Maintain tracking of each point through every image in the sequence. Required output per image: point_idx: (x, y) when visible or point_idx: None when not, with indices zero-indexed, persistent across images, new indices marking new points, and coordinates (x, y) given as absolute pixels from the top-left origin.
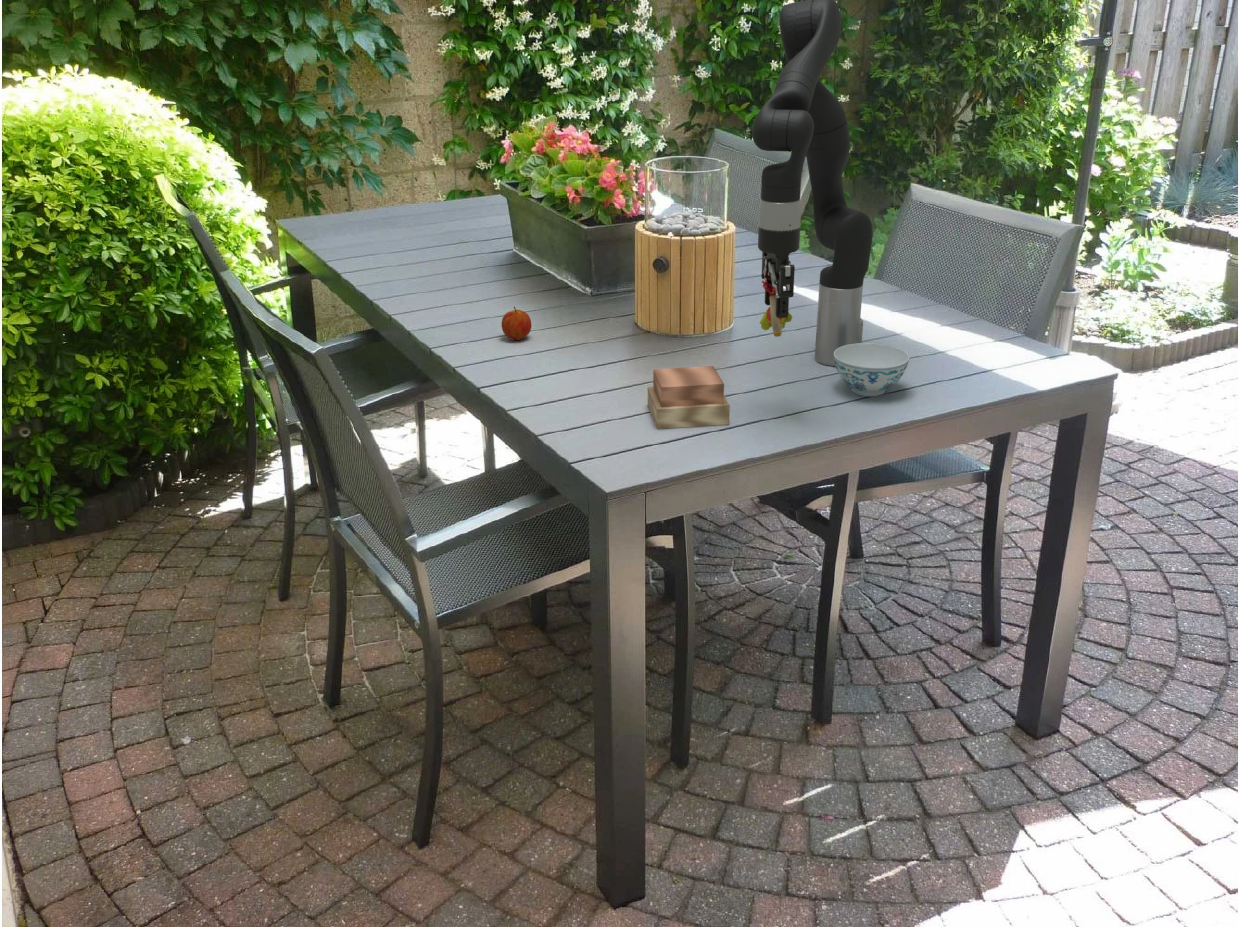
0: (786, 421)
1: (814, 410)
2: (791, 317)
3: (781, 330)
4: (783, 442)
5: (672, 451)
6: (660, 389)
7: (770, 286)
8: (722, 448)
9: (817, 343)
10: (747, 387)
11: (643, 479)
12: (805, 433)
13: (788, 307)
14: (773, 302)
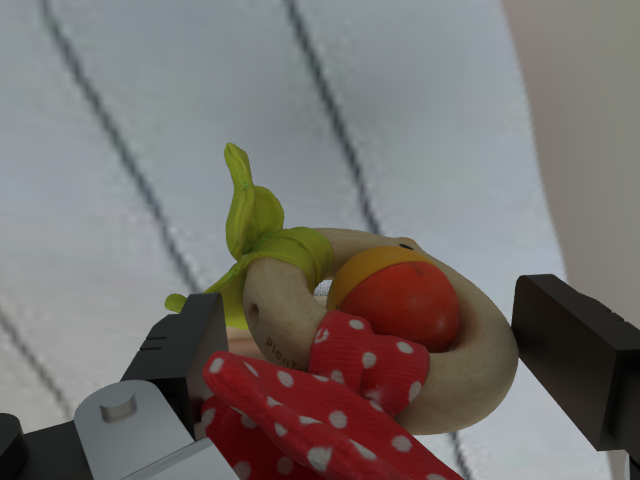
0: (383, 144)
1: (313, 38)
2: (240, 151)
3: (404, 242)
4: (514, 183)
5: (499, 421)
6: None
7: (253, 460)
8: (510, 326)
9: None
10: (115, 202)
11: (606, 475)
12: (473, 111)
13: (590, 301)
14: (489, 410)
